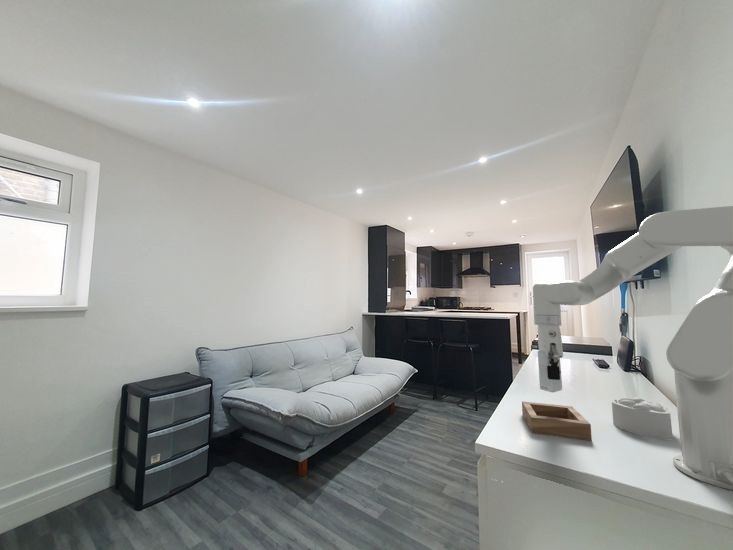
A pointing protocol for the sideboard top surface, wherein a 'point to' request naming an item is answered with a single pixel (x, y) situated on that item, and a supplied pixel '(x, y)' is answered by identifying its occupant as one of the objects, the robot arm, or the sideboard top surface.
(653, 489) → the sideboard top surface
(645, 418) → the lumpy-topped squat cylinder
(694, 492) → the sideboard top surface
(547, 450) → the sideboard top surface
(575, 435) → the square wooden tray
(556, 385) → the skincare box
